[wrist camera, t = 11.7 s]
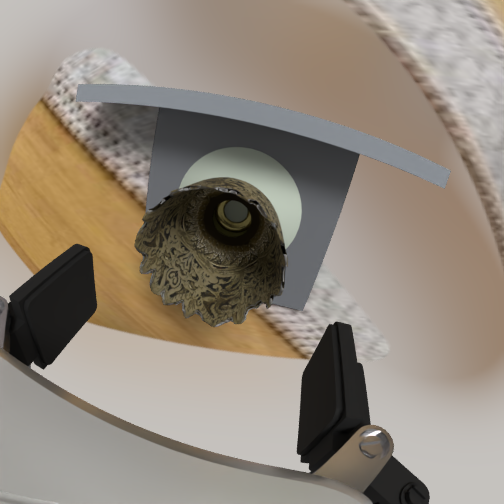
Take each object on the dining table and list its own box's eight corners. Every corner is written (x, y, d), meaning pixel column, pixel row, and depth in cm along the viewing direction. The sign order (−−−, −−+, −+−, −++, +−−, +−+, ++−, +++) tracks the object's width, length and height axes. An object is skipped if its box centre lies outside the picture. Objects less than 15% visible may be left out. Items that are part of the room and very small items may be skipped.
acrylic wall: (424, 159, 17) (450, 170, 14) (419, 174, 18) (444, 188, 14) (110, 85, 18) (78, 84, 14) (107, 99, 18) (75, 101, 15)
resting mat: (361, 142, 18) (363, 143, 17) (302, 307, 24) (302, 311, 24) (164, 96, 18) (161, 96, 17) (145, 264, 24) (142, 267, 24)
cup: (225, 273, 23) (196, 344, 16) (167, 197, 21) (108, 242, 14) (309, 227, 20) (316, 290, 13) (250, 137, 18) (222, 152, 11)
